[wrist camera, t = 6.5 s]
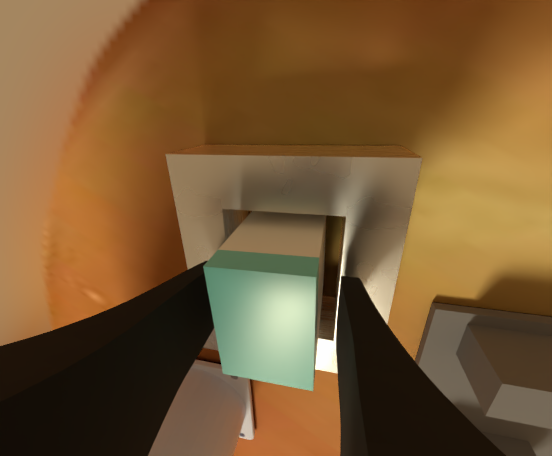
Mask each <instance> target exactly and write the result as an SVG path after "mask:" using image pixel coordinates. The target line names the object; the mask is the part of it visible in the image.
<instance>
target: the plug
mask: <svg viewBox="0 0 552 456" xmlns="http://www.w3.org/2000/svg"><path fill="white" fill-rule="evenodd" d="M325 239H326V215H314V214H298V213H282V212H266V211H252V212H251V213H250V214H249V215H248V216H247V217H246V218H245V220H244V221H243V222H242V223H241V224H240V225H239V226H238V228H237V229H236V230H235V231H234V232H233V233H232V234H231V235H230V237H229V238H228V239H227V240H226V241H225V242H224V243H223V245H222V246H221V247H220V248H219V249H218V250H217V251H216V252H215V254H214V255H213V256H212V257H211V258H210V259H209V260H208V262H207V263H206V264H205V265H204V266H203V268H204V273H205V279H206V284H207V290H208V295H209V301H210V306H211V311H212V317H213V322H214V328H215V333H216V339H217V344H218V349H219V355H220V360H221V366H222V371H223V374H227V375H232V376H238V377H243V378H248V379H253V380H258V381H263V382H269V383H274V384H279V385H284V386H289V387H294V388H299V389H305V390H310V391H313V388H314V377H315V367H316V357H317V346H318V336H319V325H320V315H321V305H322V294H323V284H324V262H325Z"/></svg>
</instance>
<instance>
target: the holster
mask: <svg viewBox="0 0 552 456" xmlns="http://www.w3.org/2000/svg"><path fill="white" fill-rule="evenodd" d="M415 362H416V363H417V365H418V366H419V367H420V368H421V369H422V370H423V372H424V373H425V374H426V375H427V376H428V378H429V379H430V380H431V381H432V382H433V383H434V384H435V385H436V386H437V387H438V389H439V390H440V391H441V392H442V393H443V394H444V395H445V396H446V397H447V398H448V399H449V400H450V401H451V402H452V403H453V404H454V405H455V406H456V407H457V408H458V409H459V410H460V411H461V412H462V413H463V414H464V415H465V416H466V417H467V418H468V419H469V420H470V421H471V422H472V424H473V425H474V426H475V427H476V428H477V429H478V430H479V431H480V432H481V433H483V434H484V435H485V436H486V437H487V438H488V439H489V440H490V441H491V442H492V443H493V444H494V445H495V446H496V447H497V448H499V449H500V450H501V451H502V452H503V453H504V454H505V455H506V456H552V317H548V316H540V315H532V314H524V313H516V312H507V311H499V310H491V309H483V308H475V307H467V306H459V305H451V304H443V303H434V302H432V305H431V309H430V312H429V315H428V319H427V322H426V326H425V329H424V332H423V336H422V339H421V343H420V346H419V349H418V353H417V356H416V360H415Z"/></svg>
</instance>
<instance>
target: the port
mask: <svg viewBox="0 0 552 456" xmlns="http://www.w3.org/2000/svg"><path fill="white" fill-rule="evenodd" d="M165 155H166V160H167V165H168V170H169V175H170V180H171V186H172V191H173V196H174V201H175V206H176V211H177V217H178V222H179V227H180V232H181V237H182V242H183V247H184V253H185V258H186V263H187V268H188V269H190V268H192V267H194V266H196V265H198V264H200V263H202V262H204V261H208V260H209V259H210V258H211V257H212V256H213V255H214V254H215V252H216V251H217V250H218V249H219V248H220V247H221V246H222V245H223V243H224V242H225V241H226V240H227V239H228V238H229V237H230V235H231V234H232V233H233V232H234V231H235V230H236V229H237V228H238V226H239V225H240V224H241V223H242V222H243V221H244V220H245V218H246V217H247V216H248V215H249V210H250V211H266V212H282V213H298V214H314V215H329V216H343V218H342V228H341V239H340V249H339V260H338V271H337V281H336V292H335V297H331V296H323V295H322V305H321V315H320V325H319V336H318V346H317V357H316V367H315V369H318V370H323V371H328V372H334V373H338V371H337V356H336V328H337V313H338V303H339V293H340V283H341V276H349V277H358V278H360V279H361V281H362V283H363V285H364V287H365V289H366V291H367V293H368V294H369V296H370V298H371V300H372V301H373V303H374V305H375V306H376V308H377V310H378V311H379V313H380V314H381V316H382V317H383V319H384V320H385V322H386V324H387V323H388V318H389V314H390V309H391V304H392V300H393V295H394V290H395V285H396V281H397V276H398V271H399V266H400V262H401V257H402V252H403V248H404V243H405V238H406V233H407V229H408V224H409V219H410V215H411V210H412V205H413V200H414V196H415V191H416V186H417V181H418V177H419V172H420V167H421V163H422V158H421V157H420V156H418V155H416V154H415V153H413V152H411V151H409V150H408V149H406V148H404V147H403V146H374V145H200V146H196V147H192V148H188V149H184V150H180V151H176V152H172V153H168V154H165ZM203 348H207V349H213V350H218V351H219V349H218V344H217V339H216V333H215V328H214V329H213V331H212V333H211V334H210V336H209V338H208V340H207V341H206V343H205V345H204V346H203Z"/></svg>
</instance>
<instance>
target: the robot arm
mask: <svg viewBox="0 0 552 456" xmlns="http://www.w3.org/2000/svg"><path fill="white" fill-rule="evenodd" d="M207 262H208V261H204V262H202V263H200V264H198V265H196V266H194V267H192V268H190V269H188V270H186V271H185V272H183V273H181V274H179V275H177V276H175V277H174V278H172V279H170V280H168V281H166V282H164V283H163V284H161V285H159V286H157V287H155V288H153V289H151V290H149V291H147V292H145V293H143V294H141V295H139V296H137V297H135V298H133V299H131V300H129V301H127V302H125V303H122V304H120V305H118V306H116V307H113V308H111V309H109V310H106V311H104V312H101V313H99V314H97V315H94V316H92V317H89V318H86V319H83V320H81V321H78V322H75V323H72V324H69V325H67V326H64V327H61V328H58V329H55V330H53V331H50V332H47V333H43V334H40V335H37V336H34V337H31V338H27V339H24V340H20V341H17V342H14V343H10V344H7V345H3V346H0V456H233V455H234V451H235V448H236V445H237V442H238V439H239V437H240V438H244V439H248V440H252V439H253V438H254V435H255V428H254V417H253V407H252V396H251V385H250V379H248V378H243V377H238V376H232V375H227V374H223V371H222V366H221V364H216V363H211V362H206V361H201V360H196V358H197V356H198V355H199V353H200V351H201V350H202V348H203V346H204V345H205V343H206V341H207V340H208V338H209V336H210V334H211V333H212V331H213V329H214V322H213V317H212V311H211V306H210V301H209V295H208V290H207V284H206V279H205V273H204V268H203V266H204V265H205V264H206V263H207ZM336 356H337V371H338V386H339V400H340V418H341V454H340V456H506V455H505V454H504V453H503V452H502V451H501V450H500V449H499V448H497V447H496V446H495V445H494V444H493V443H492V442H491V441H490V440H489V439H488V438H487V437H486V436H485V435H484V434H483V433H481V432H480V431H479V430H478V429H477V428H476V427H475V426H474V425H473V424H472V422H471V421H470V420H469V419H468V418H467V417H466V416H465V415H464V414H463V413H462V412H461V411H460V410H459V409H458V408H457V407H456V406H455V405H454V404H453V403H452V402H451V401H450V400H449V399H448V398H447V397H446V396H445V395H444V394H443V393H442V392H441V391H440V390H439V389H438V387H437V386H436V385H435V384H434V383H433V382H432V381H431V380H430V379H429V378H428V376H427V375H426V374H425V373H424V372H423V370H422V369H421V368H420V367H419V366H418V365H417V363H416V362H415V361H414V360H413V359H412V357H411V356H410V355H409V354H408V352H407V351H406V350H405V348H404V347H403V346H402V344H401V343H400V342H399V340H398V339H397V338H396V336H395V335H394V334H393V332H392V331H391V329H390V328H389V326H388V325H387V324H386V322H385V320H384V319H383V317H382V316H381V314H380V313H379V311H378V310H377V308H376V306H375V305H374V303H373V301H372V300H371V298H370V296H369V294H368V293H367V291H366V289H365V287H364V285H363V283H362V281H361V279H360V278H358V277H349V276H341V283H340V293H339V303H338V313H337V328H336Z"/></svg>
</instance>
